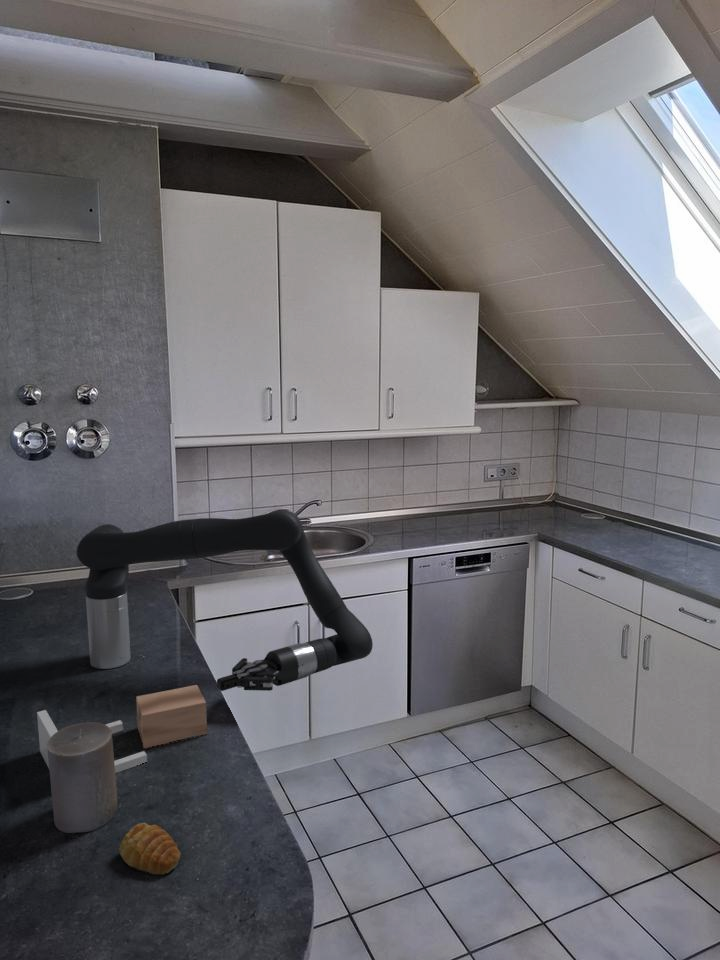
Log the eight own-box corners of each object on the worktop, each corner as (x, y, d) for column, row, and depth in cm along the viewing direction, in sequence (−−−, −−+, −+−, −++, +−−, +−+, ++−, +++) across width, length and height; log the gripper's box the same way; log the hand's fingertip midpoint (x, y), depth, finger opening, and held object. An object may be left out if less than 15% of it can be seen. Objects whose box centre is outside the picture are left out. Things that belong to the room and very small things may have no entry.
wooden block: (137, 729, 139) (136, 696, 138) (198, 716, 144) (197, 684, 143) (143, 749, 132) (142, 715, 131) (207, 735, 137) (206, 702, 136)
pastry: (192, 858, 104) (191, 835, 103) (156, 887, 98) (155, 863, 98) (150, 834, 109) (148, 812, 108) (113, 860, 103) (112, 837, 103)
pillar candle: (97, 788, 120) (91, 708, 117) (129, 811, 114) (123, 727, 111) (42, 817, 113) (33, 732, 110) (73, 844, 106) (65, 755, 104)
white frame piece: (40, 751, 131) (36, 712, 129) (120, 726, 139) (118, 689, 138) (60, 792, 119) (57, 749, 117) (147, 762, 128) (145, 721, 126)
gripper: (276, 637, 157) (204, 656, 147) (307, 657, 147) (232, 680, 137) (276, 668, 159) (205, 689, 149) (307, 690, 148) (233, 715, 138)
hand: (218, 685), depth 143 cm, fingers closed
